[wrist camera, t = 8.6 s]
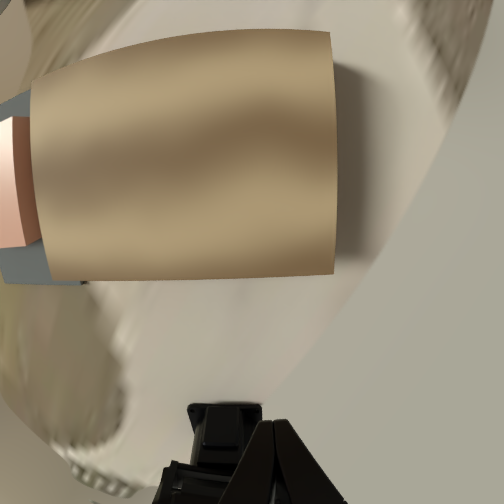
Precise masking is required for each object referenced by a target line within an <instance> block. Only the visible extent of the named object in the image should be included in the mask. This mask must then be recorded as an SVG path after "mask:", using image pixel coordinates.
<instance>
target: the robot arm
mask: <svg viewBox="0 0 504 504" xmlns="http://www.w3.org/2000/svg"><path fill="white" fill-rule="evenodd" d="M187 412H188V415H189V419H190V422H191V425H192V428H193V431H194V434H195V436H194V442H193V448H192V454H191V460H190V465H189V464H184V463H178V461H174V460H172V461H171V464H170V466H169V467H165V468H164V469H163V473H162V478H161V482H160V485H159V488H158V490H157V493H156V495H155V498H154V500H153V502H152V504H348V503H347V502H346V501H344V498H343V497H342V496H341V494H340V493H339V492H338V490H337V489H336V488H335V486H334V485H333V484H332V482H331V481H330V480H329V478H328V477H327V476H326V474H325V473H324V471H323V470H322V469H321V467H320V466H319V464H318V463H317V462H316V460H315V459H314V458H313V456H312V455H311V453H310V452H309V451H308V449H307V447H306V446H305V445H304V443H303V442H302V440H301V439H300V438H299V436H298V434H297V433H296V432H295V430H294V429H293V427H292V426H291V424H290V423H289V421H288V420H287V419H279V420H274V421H271V420H264V421H262V407H261V406H260V405H198V404H190V405H188V408H187ZM178 488H181V489H178Z"/></svg>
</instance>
